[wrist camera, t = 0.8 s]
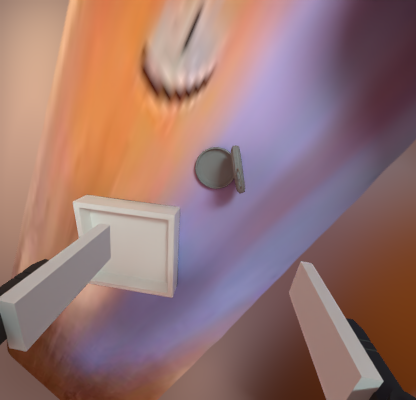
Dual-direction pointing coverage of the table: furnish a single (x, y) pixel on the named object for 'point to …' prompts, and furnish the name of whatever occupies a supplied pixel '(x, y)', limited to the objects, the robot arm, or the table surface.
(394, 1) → the table surface
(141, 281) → the tray
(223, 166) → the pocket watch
